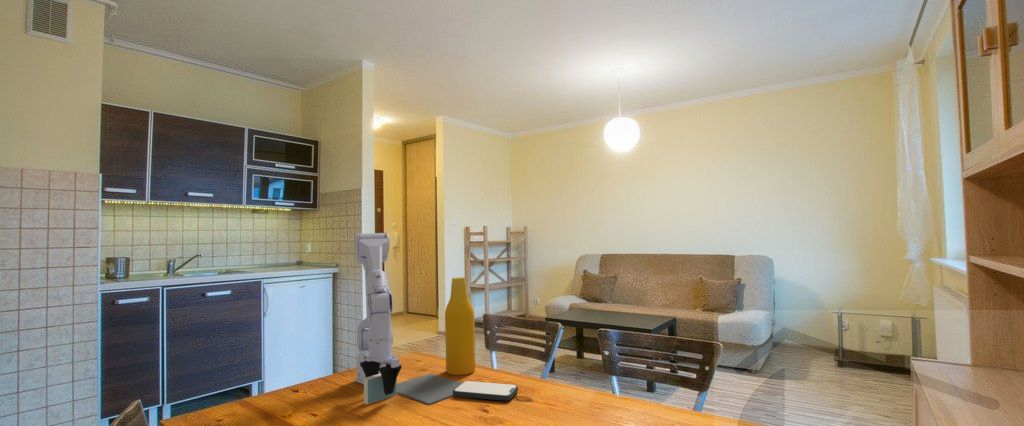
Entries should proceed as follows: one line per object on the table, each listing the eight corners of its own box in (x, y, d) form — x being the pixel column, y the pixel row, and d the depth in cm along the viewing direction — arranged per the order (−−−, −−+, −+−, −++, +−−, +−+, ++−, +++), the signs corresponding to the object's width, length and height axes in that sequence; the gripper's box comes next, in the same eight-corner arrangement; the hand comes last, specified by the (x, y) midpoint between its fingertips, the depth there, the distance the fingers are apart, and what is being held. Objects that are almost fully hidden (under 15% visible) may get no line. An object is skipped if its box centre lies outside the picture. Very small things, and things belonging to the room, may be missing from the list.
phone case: (451, 397, 120) (509, 402, 115) (450, 391, 120) (509, 396, 115) (464, 386, 128) (519, 390, 123) (464, 380, 128) (519, 384, 123)
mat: (384, 388, 128) (384, 387, 128) (430, 374, 140) (430, 373, 140) (429, 405, 115) (429, 403, 115) (475, 387, 127) (475, 386, 127)
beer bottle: (470, 365, 149) (468, 275, 150) (479, 373, 141) (477, 278, 142) (442, 369, 145) (440, 277, 147) (450, 377, 137) (448, 280, 138)
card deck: (364, 403, 118) (363, 378, 118) (393, 393, 125) (393, 369, 125) (367, 404, 117) (367, 379, 117) (397, 395, 123) (396, 370, 124)
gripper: (351, 337, 123) (352, 389, 123) (381, 345, 114) (382, 400, 113) (375, 333, 128) (376, 382, 128) (405, 339, 119) (406, 393, 118)
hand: (380, 390), depth 121 cm, fingers open, 7 cm apart
